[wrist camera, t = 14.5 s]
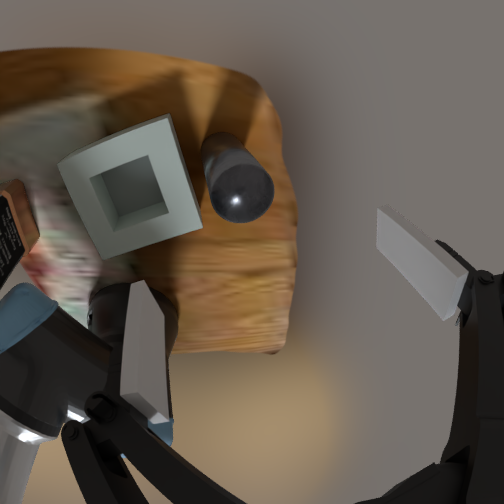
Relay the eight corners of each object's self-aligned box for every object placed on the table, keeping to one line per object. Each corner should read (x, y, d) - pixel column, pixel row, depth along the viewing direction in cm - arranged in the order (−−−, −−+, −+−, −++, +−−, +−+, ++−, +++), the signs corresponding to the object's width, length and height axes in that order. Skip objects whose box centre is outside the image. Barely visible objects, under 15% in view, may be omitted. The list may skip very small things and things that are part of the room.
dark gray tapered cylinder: (245, 165, 36) (279, 213, 24) (206, 176, 35) (219, 230, 24) (236, 127, 33) (268, 155, 21) (195, 138, 32) (202, 173, 21)
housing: (200, 209, 37) (202, 227, 33) (110, 239, 37) (103, 260, 33) (169, 112, 30) (167, 117, 26) (71, 152, 29) (56, 164, 25)
